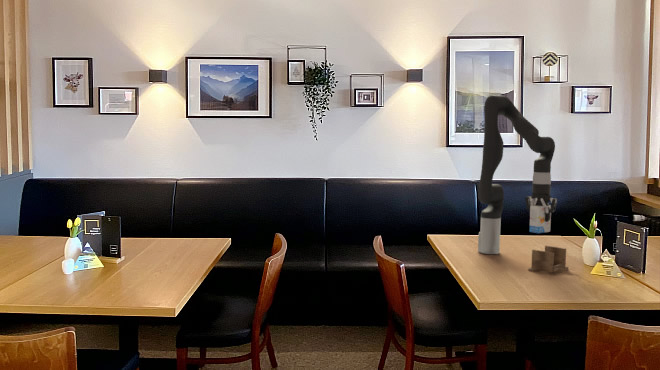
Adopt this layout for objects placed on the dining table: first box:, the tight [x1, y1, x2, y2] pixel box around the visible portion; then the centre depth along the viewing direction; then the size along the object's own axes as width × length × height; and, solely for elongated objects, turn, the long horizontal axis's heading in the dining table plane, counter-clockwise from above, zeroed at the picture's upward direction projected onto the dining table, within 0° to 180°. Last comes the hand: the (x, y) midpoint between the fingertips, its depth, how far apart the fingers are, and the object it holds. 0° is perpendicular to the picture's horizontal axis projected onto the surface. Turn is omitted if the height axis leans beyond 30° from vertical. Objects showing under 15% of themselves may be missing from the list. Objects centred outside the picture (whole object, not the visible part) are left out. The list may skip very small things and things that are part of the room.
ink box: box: [529, 199, 552, 234], centre depth 263 cm, size 8×5×15 cm, turn 124°
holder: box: [527, 245, 569, 276], centre depth 257 cm, size 11×15×9 cm
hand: (540, 220), depth 263 cm, fingers closed on ink box, 5 cm apart
